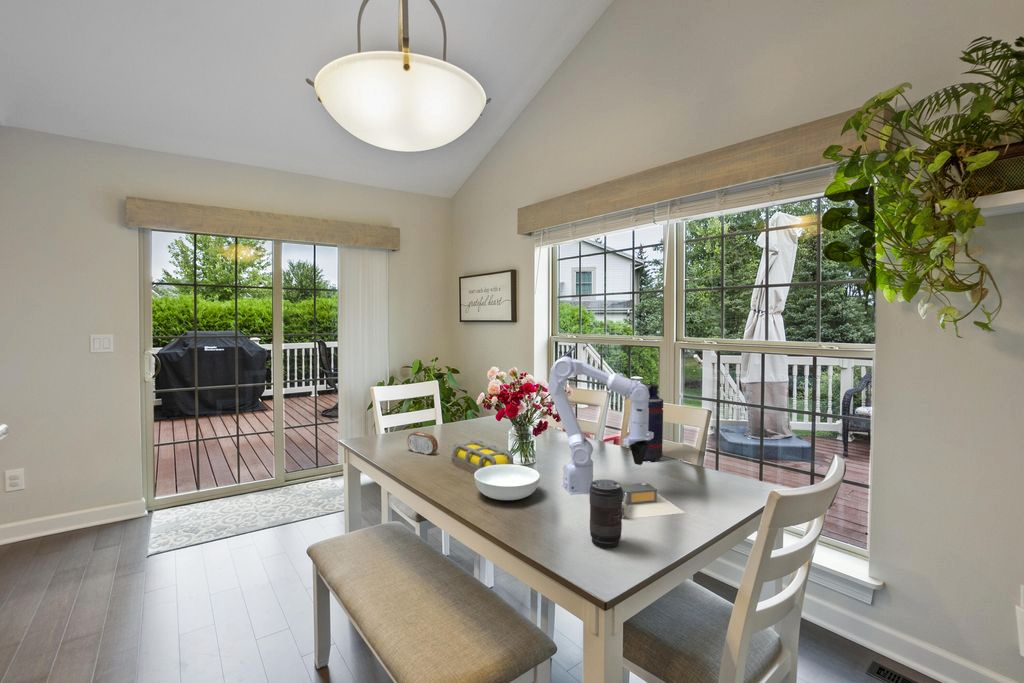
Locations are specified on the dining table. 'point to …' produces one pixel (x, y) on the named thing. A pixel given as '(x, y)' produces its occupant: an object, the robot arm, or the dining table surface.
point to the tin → (422, 443)
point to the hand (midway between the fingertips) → (638, 464)
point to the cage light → (479, 456)
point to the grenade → (654, 424)
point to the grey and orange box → (639, 493)
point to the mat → (652, 509)
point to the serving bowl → (507, 481)
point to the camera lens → (605, 513)
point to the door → (624, 505)
